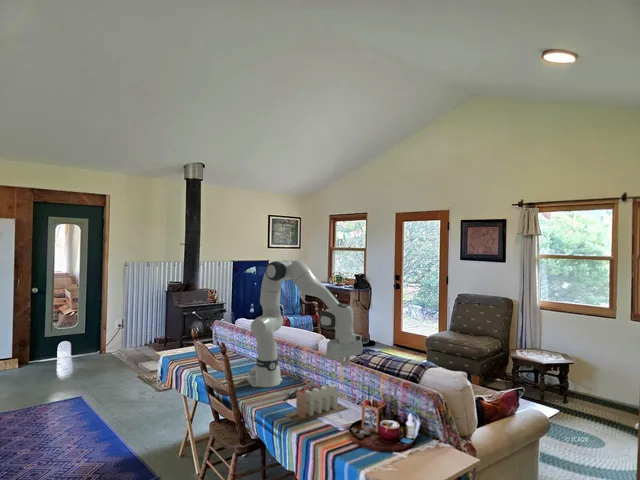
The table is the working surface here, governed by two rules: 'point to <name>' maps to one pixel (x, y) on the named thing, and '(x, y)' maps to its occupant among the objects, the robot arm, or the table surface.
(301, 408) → the domino
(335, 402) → the domino
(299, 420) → the board
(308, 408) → the domino
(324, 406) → the domino
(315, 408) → the domino
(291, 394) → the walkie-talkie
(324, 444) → the table surface
